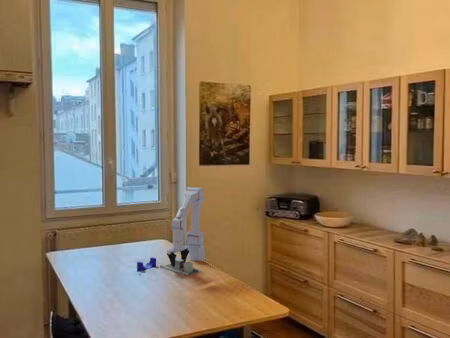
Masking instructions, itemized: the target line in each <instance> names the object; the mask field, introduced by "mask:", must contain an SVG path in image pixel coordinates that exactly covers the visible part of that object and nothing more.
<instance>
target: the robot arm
mask: <svg viewBox="0 0 450 338" xmlns="http://www.w3.org/2000/svg"><path fill="white" fill-rule="evenodd" d="M204 194H205V192H204V190H203V188H202V187H187V186H186V188H185V189H184V200H183V204H182V207H179V209H178V211H177V213H176V215H175V217H174V218H173V219H172V220H171V223H170V227H171V232H172V248H169V249H167V250H166V255H167V257H168V259H169V261H170V264H171V266H173V267H174V266H175V259H176V258H177V254H175V253H178V252H180V257H181V258H180V259H182V260H184V263H186V262H187V258H188V261H190V262H191V261H192V262H193V261H194V262H196V261H198V262H205V261H206V258H205V256H206V255H205V247H204V244H205V243H204V242H205V239H204V233H203V232H202V231H201V230H200V222H201V221H200V220H201V219H200V218H201V207H202V203H203V202H204ZM191 205H192V207H191ZM190 207H191V218H190V219H191V220H190V221H191V222H190V230H189V231H187V232H186V235H185V234H184V231H185V230H184V229H185V227H186V223H187V217H188V215H189V213H190V212H189V209H190ZM184 235H185V236H184ZM184 238H185V240H184ZM184 243H185V245H184Z"/></svg>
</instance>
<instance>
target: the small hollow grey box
mask: <svg viewBox="0 0 450 338" xmlns="http://www.w3.org/2000/svg"><path fill="white" fill-rule="evenodd" d="M193 263H194V262H193V261H192V262H191V261H186V262H185V263H184V272H186V273H191V272H193V268H194V267H193Z"/></svg>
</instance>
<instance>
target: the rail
mask: <svg viewBox="0 0 450 338" xmlns="http://www.w3.org/2000/svg"><path fill="white" fill-rule="evenodd" d="M159 268H160V269H163V270H164V269H165V270H167V271H170V272H173V273H177V274H180V275H184V276H186V277H187V276H191V275H193V274H196V273H200V272H201V271H200V269H198V268H194V267H193V272H191V273H186V272H184V269H182V270H177V269H173V268H172V266H171V263H170V264H166V265H163V264H160V265H159Z"/></svg>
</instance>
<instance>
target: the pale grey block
mask: <svg viewBox="0 0 450 338" xmlns="http://www.w3.org/2000/svg"><path fill="white" fill-rule="evenodd" d="M172 268H173V269H177V270H182V269H184V260H182V259H181V258H178V257H176V259H175V266H174V267H173V266H172Z"/></svg>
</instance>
